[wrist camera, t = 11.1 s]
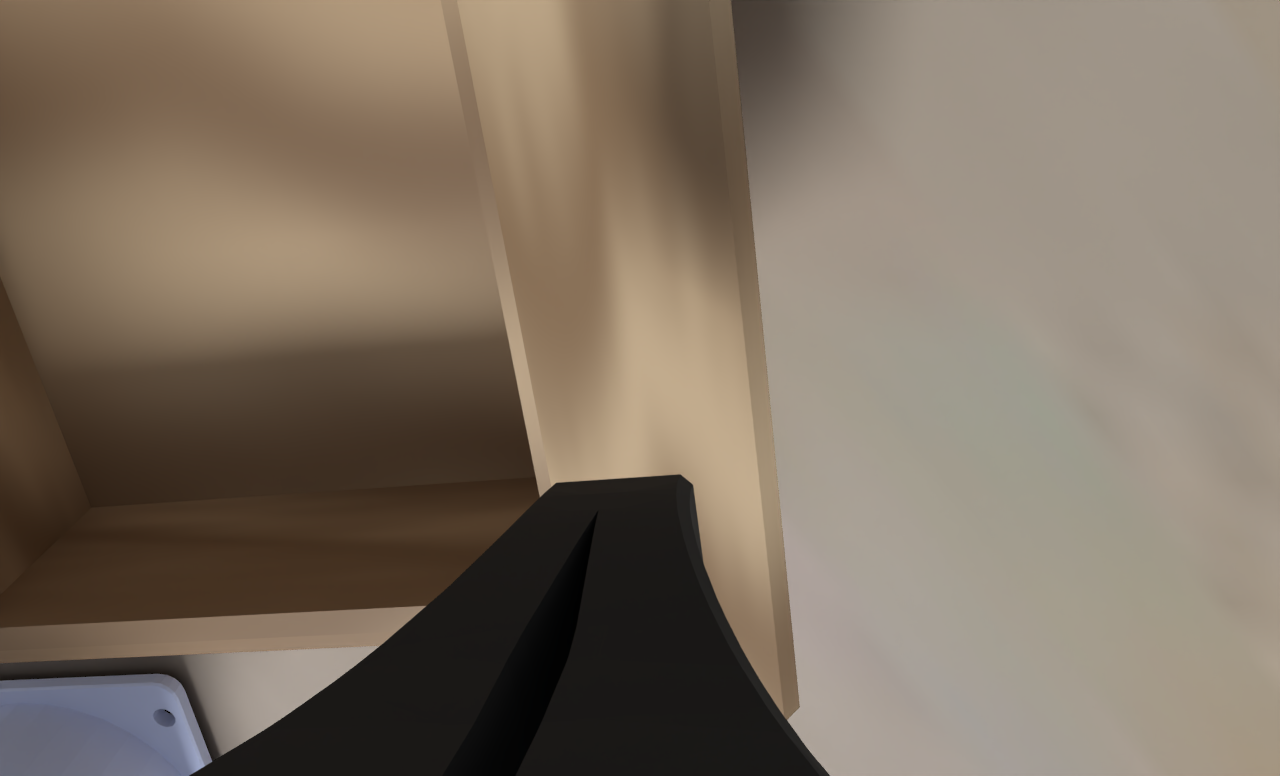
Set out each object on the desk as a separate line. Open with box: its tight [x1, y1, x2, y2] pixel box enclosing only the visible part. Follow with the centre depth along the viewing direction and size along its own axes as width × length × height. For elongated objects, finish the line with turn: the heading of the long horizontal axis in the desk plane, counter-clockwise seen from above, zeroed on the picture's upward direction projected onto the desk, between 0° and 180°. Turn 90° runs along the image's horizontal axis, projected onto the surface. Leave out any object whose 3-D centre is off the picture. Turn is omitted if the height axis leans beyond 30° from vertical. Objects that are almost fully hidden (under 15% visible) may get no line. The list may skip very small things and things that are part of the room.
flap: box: [457, 0, 800, 720], centre depth 14 cm, size 15×1×4 cm
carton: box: [0, 0, 551, 663], centre depth 18 cm, size 17×12×4 cm
